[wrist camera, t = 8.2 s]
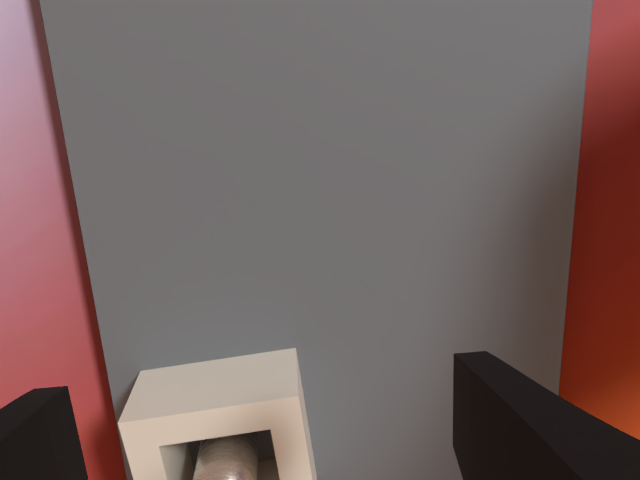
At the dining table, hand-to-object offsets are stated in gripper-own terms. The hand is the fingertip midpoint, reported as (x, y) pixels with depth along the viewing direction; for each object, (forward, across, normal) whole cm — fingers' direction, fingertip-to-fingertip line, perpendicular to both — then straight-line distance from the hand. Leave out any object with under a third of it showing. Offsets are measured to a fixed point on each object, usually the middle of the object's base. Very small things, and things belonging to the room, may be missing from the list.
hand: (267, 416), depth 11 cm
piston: (+10, +2, +6) cm, 12 cm away
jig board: (+10, -2, 0) cm, 10 cm away
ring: (+9, +2, +6) cm, 11 cm away
